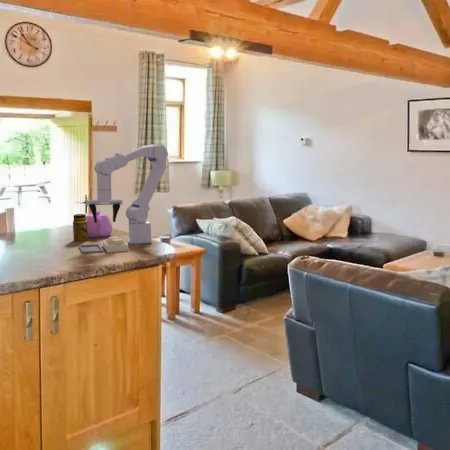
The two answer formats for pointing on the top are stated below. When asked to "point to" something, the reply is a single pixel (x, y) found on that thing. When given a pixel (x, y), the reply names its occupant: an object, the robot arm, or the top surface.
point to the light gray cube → (112, 238)
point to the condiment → (80, 228)
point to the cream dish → (115, 247)
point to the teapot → (98, 225)
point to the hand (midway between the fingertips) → (104, 222)
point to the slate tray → (91, 248)
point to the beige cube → (116, 242)
